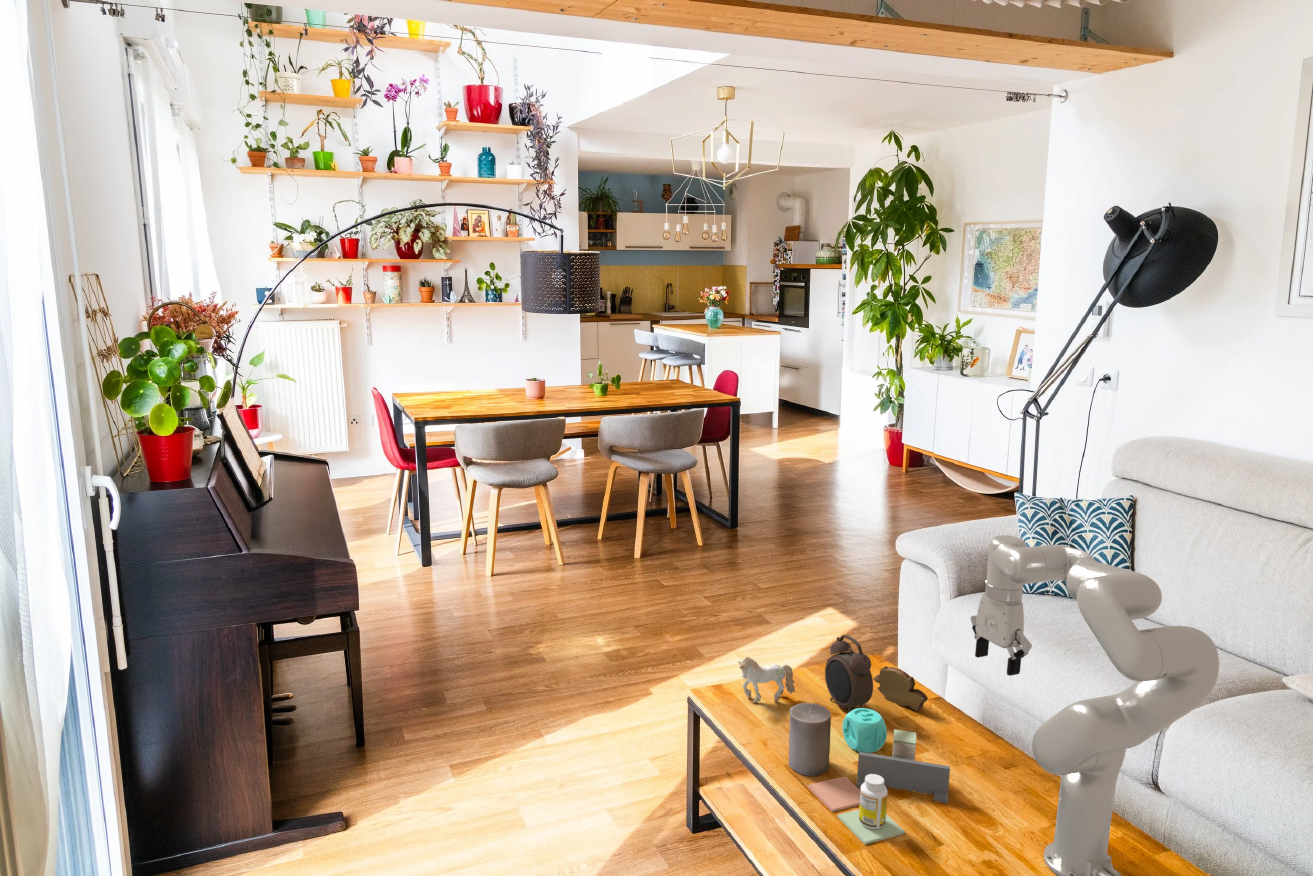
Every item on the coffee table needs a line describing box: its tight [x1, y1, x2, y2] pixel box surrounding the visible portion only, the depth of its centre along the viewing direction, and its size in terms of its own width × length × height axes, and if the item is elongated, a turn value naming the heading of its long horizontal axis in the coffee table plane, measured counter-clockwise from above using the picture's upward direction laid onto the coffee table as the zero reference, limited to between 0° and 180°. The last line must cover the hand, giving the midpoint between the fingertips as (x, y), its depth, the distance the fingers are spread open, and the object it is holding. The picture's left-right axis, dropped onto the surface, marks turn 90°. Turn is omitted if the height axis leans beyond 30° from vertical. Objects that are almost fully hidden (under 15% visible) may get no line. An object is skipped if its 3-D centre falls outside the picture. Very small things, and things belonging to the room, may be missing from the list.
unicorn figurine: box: [737, 656, 796, 705], centre depth 241 cm, size 7×20×13 cm, turn 118°
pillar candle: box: [788, 702, 832, 777], centre depth 210 cm, size 10×10×15 cm
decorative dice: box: [841, 707, 888, 754], centre depth 220 cm, size 8×8×8 cm
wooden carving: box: [872, 666, 929, 712], centre depth 242 cm, size 16×5×10 cm, turn 43°
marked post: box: [891, 728, 917, 761], centre depth 207 cm, size 5×5×10 cm
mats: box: [807, 775, 906, 845], centre depth 194 cm, size 22×10×1 cm, turn 22°
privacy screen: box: [855, 752, 951, 804], centre depth 202 cm, size 20×6×7 cm, turn 74°
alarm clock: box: [824, 634, 874, 713], centre depth 238 cm, size 15×7×20 cm, turn 25°
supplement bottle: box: [859, 774, 888, 829], centre depth 188 cm, size 6×6×10 cm
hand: (996, 665), depth 197 cm, fingers open, 9 cm apart
